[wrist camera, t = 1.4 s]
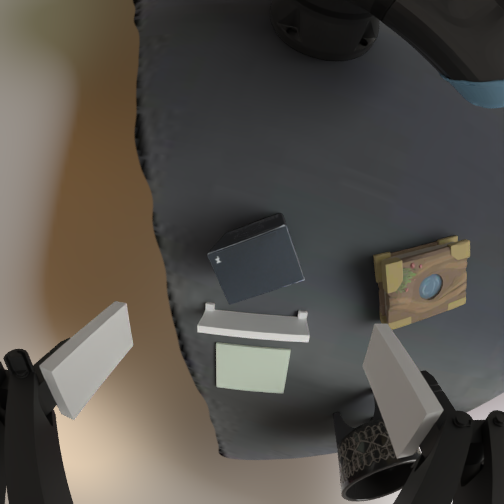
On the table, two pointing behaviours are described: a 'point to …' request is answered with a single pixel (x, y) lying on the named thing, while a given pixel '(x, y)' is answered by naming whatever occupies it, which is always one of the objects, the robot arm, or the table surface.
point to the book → (421, 281)
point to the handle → (254, 325)
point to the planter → (369, 460)
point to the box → (255, 259)
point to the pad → (251, 367)
